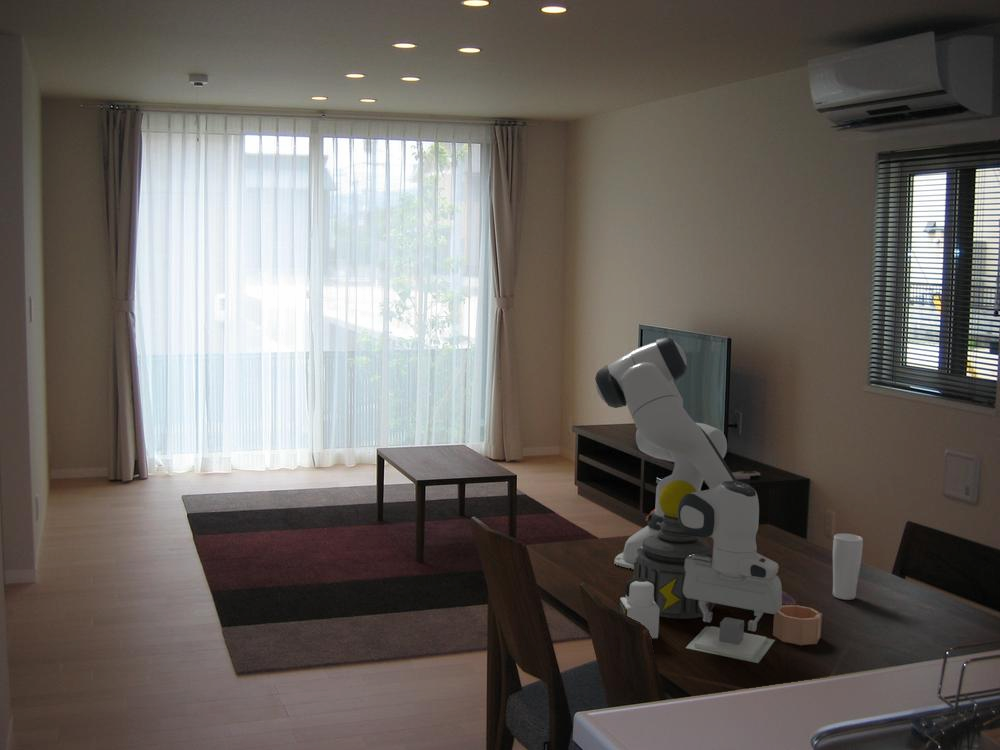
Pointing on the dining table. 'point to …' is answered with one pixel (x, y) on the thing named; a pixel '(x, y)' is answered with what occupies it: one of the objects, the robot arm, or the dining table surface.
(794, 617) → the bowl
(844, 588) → the drinking glass
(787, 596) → the lily
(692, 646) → the mat
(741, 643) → the lid
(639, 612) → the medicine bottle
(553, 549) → the dining table surface
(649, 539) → the decorative lamp
